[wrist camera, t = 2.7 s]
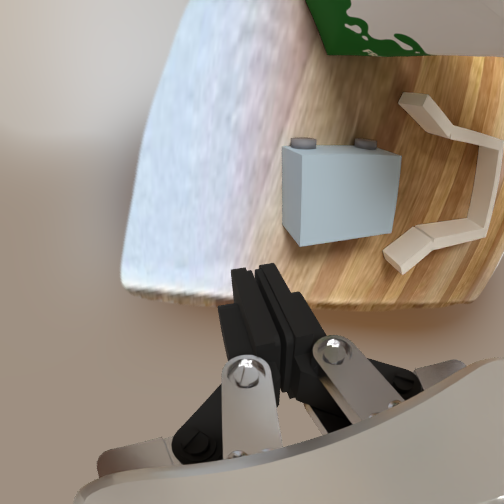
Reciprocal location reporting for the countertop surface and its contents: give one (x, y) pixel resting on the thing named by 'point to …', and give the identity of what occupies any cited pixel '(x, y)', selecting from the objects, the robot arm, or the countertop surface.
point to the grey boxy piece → (338, 190)
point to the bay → (483, 196)
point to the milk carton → (410, 27)
